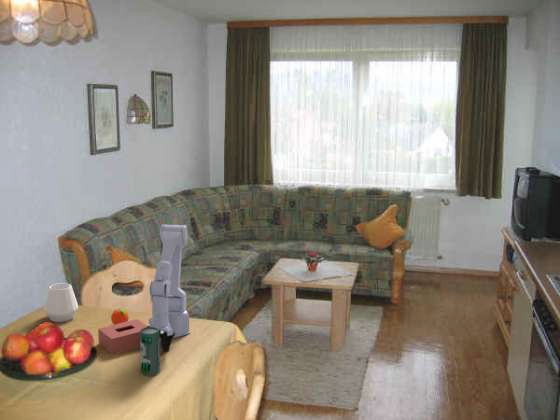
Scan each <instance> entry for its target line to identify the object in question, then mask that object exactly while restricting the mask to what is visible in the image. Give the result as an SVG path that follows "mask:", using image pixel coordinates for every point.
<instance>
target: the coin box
mask: <svg viewBox="0 0 560 420" xmlns="http://www.w3.org/2000/svg"><path fill="white" fill-rule="evenodd" d="M147 326H148V325H147V324H145V323H144V322H143V321H141V320H140V319H138V318H137V319H133V320H128V321H127V322H123V323H119V324H115V325H114V324H112V325H111V324H110V325H107V326H103V327H99V328H98V330H97V333H98V344H99V345H100V346H101V347H102V348H103V349H105V350H106V351H107V352H109V354H111V355H115V354H119V353H123V352H126V351H130V350H133V349H137V348H140V330H141V329H143V328H145V327H147Z"/></svg>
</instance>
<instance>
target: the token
mask: <svg viewBox="0 0 560 420" xmlns="http://www.w3.org/2000/svg"><path fill="white" fill-rule="evenodd" d="M168 352H169V351H166V352H163V349H162V342H161V339H160V355H162V354H165V353H168Z"/></svg>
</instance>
